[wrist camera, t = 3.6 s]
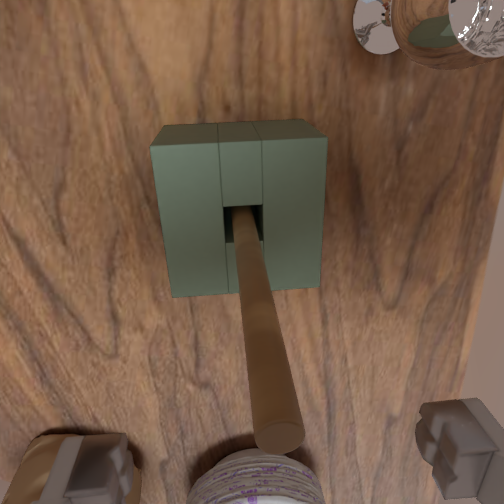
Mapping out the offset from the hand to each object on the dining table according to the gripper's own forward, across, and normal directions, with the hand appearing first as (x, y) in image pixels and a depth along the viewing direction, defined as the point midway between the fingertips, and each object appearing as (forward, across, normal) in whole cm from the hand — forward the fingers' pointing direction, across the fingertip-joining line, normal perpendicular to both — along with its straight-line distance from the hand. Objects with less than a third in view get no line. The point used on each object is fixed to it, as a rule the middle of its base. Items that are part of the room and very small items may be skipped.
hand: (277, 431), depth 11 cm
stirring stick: (+22, 0, 0) cm, 22 cm away
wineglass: (+22, -10, -11) cm, 27 cm away
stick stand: (+22, 0, 0) cm, 22 cm away
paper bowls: (+22, 0, +35) cm, 41 cm away
